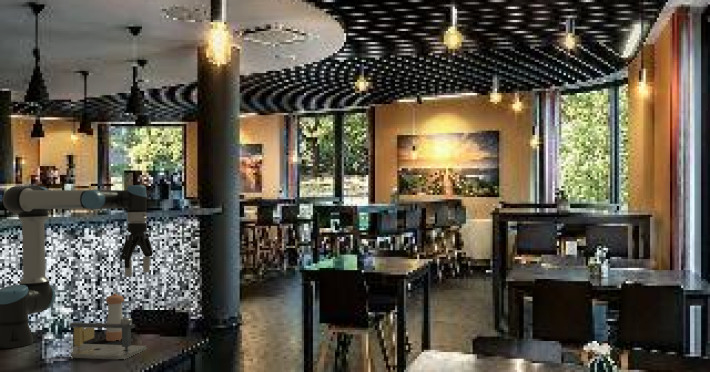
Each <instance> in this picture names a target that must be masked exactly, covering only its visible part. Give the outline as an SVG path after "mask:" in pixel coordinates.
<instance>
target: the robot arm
mask: <svg viewBox="0 0 710 372" xmlns="http://www.w3.org/2000/svg"><path fill="white" fill-rule="evenodd" d="M2 196H3V197H2V204H3V206H4V208H5V209H6V210H7V211H8V212H10V213H12V214H17V217H18V218H17V219H19V220H20V222H21V226H22V228H21V229H22V230H21V231H22V232H21V233H22V273H23V274H22V275H23V276H22V277H23V278H21V280H19V284H13V285H8V286H5V287H4V286H3V287H1V288H0V349H12V348H14V349H15V348H21V347H25V346H28V345H32V344H33V343H34V336H33V334H32V331H31V328H30V326H29V315H33V314H36V313H42V312H44V311H46V310H48V309H50V308H51V307H52V306H53V305H54V303H55V300H56V290H55V288H54V287H53V286H52V285H51V284H50V279H49V278H48V277H47V276H46V245H45V244H46V243H45V240H46V239H45V236H46V235H45V221H46V220H47V219H48V217H49V211H51V210H73V209H74V210H101V209H102V210H104V209H105V210H106V209H108V210H109V209H110V210H111V209H127V222H128V223H127V232H128V233H130V234H125V237H124V244H123V247H122V252H121V255H120V259H121V260H123V261H124V277H132V276H133V266H132V265H133V260H132V256H133V253H134V252H135V249H136V247H137V246H139V248H140V251H141V252H142V254H143V257H142V272H143V273H150V272H151V268H150V267H151V263H150V261H151V257H153V254H154V252H153V248H152V245H151V242H150V234H149V233H148V232H147V230H148V229H147V228H148V225H147V217H148V215H147V198H148V194H147V187H146V185H144V184H142V185H141V184H135V185H134V184H130V185H127V187H126V189H124V190H123V189H122V190H121V189H120V190H119V189H117V190H116V189H114V190H112V189H105V190H104V189H103V190H102V189H88V190H87V189H85V190H84V189H80V190H79V189H78V190H77V189H75V190H74V189H70V190H69V189H68V190H67V189H62V190H61V189H60V190H57V189H56V190H54V189H53V190H52V189H51V190H50V189H47V188H46V187H45V186H39V185H14V186H11V187H9V188H8V189H6V191H5V192H4V193H3V195H2Z"/></svg>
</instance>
